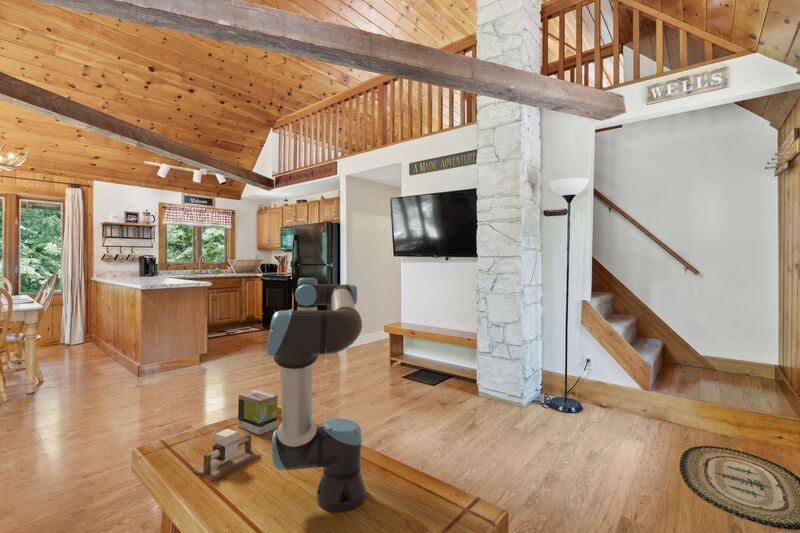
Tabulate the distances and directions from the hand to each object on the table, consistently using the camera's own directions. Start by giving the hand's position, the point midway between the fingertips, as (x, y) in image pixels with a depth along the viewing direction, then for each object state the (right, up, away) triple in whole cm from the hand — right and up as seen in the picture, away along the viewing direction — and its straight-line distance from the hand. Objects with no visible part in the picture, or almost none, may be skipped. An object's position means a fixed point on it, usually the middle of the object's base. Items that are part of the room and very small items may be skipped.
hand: (305, 378), depth 148 cm
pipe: (-25, -24, -10) cm, 36 cm away
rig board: (-25, -28, -10) cm, 39 cm away
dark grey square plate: (-27, -25, -14) cm, 39 cm away
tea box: (-27, -28, +21) cm, 44 cm away
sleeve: (-26, -25, -11) cm, 38 cm away
